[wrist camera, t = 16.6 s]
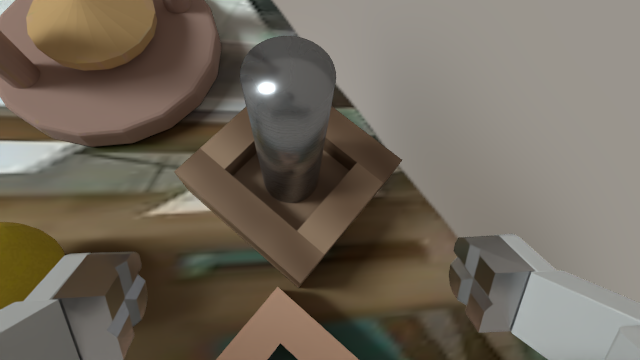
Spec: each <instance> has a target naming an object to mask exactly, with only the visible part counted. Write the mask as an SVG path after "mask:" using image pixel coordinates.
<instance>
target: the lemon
mask: <svg viewBox="0 0 640 360" xmlns="http://www.w3.org/2000/svg"><path fill="white" fill-rule="evenodd" d="M64 256H65V254H64V251H63V249H62V248H61V246H60V245H59V244H58V243H57V241H56V240H55V239H53V238H52V237H51V236H49V235H48V234H46V233H45V232H43V231H41V230H39V229H36V228H33V227H30V226H27V225H24V224H19V223H9V222H0V310H1V309H3V308H4V307H6V306H8V305H10V304H12V303H14V302H21V301H24V300H25V299H26V298H27V296H28V295H29V294H30V293H31V292H32V291H33V290H34V289H35V288H36V286H37V285H38V284H39V283H40V282H41V281H42V280H43V279H44V278H45V277H46V275H47V274H48V273H49V272H50V271H51V270H52V269H53V268H54V267H55V265H56V264H57V263H58V262H59V261H60V260H61V259H62V258H63V257H64Z"/></svg>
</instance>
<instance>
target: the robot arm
mask: <svg viewBox="0 0 640 360" xmlns="http://www.w3.org/2000/svg"><path fill="white" fill-rule="evenodd" d="M454 252H455V254H456V256H457V258H456V259H455V260H454V261H453V262H452V263H451V265H450V271H449V281H450V286H451V289H452V292H453V294H454V295H455V297H456V298H457V300H459V301H460V302H462V303H464V304H465V305H467V307H466V314H467V316H468V317H469V319H470V320H471V322H472V323H473V325H474V326H475V328H476V329H477V331H478V332H479V333H480V332H501V331H512V332H511V333H512V334H514V335H515V336H516V337H518V338H519V339H521V340H522V341H523V342H525V343H526V344H527V345H529V346H530V347H531V348H533V349H534V350H536V351H537V352H538V353H540V354H541V355H542V356H544V357H545V358H547V359H548V360H640V303H639V302H637V301H635V300H632V299H630V298H628V297H625V296H623V295H620V294H618V293H616V292H613V291H611V290H609V289H606V288H604V287H601V286H599V285H597V284H594V283H592V282H590V281H587V280H585V279H582V278H580V277H578V276H575V275H573V274H571V273H568V272H566V271H563V270H556V269H555V268H554V267H552V266H551V265H550V264H549V263H548V262H547V261H546V260H545V259H544V258H542V257H541V256H540V255H539V254H538V253H537V252H535V250H533V249H532V248H531V247H530V246H529V245H528V244H527V243H526V242H524V241H523V240H522V239H521V238H520V237H519V236H517V235H515V234H502V235H494V236H478V237H460V238H458V239H457V241H456V242H455V246H454ZM141 267H142V263H141V260H140V256H139V254H137V253H136V252H103V253H75V254H68V255H65V256H64V257H63V258H62V259H61V260H60V261H59V262H58V263H57V264H56V265H55V267H54V268H53V269H52V270H51V271H50V272H49V273H48V274H47V275H46V277H45V278H44V279H43V280H42V281H41V282H40V283H39V284H38V285H37V286H36V288H35V289H34V290H33V291H32V292H31V293H30V294H29V295H28V296H27V298H26V299H25V300H24V301H21V302H14V303H12V304H10V305H8V306H6V307H4V308H3V309H1V310H0V360H124V358H125V356H126V353H127V351H128V349H129V347H130V345H131V342H132V340H133V338H134V336H135V335H134V331H133V326H135V325H136V324H137V323H138V322H140V321H141V320H142V318H143V315H144V313H145V310H146V304H147V299H148V297H147V286H146V281H145V280H144V279H143V278H142V277H140V276H139V275H138V273H139V271H140V269H141Z"/></svg>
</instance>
